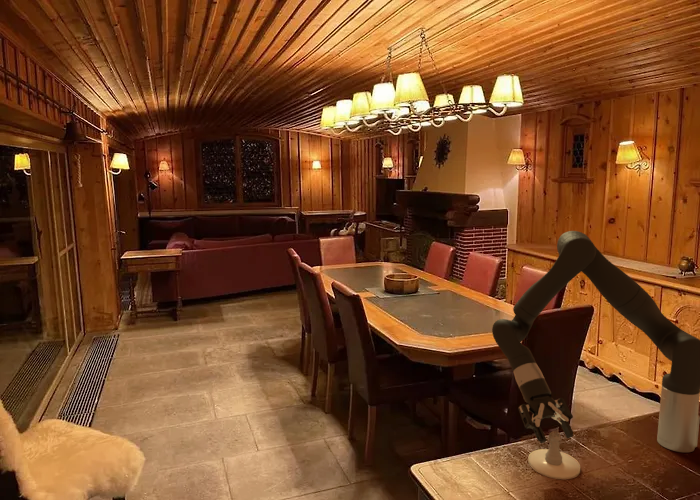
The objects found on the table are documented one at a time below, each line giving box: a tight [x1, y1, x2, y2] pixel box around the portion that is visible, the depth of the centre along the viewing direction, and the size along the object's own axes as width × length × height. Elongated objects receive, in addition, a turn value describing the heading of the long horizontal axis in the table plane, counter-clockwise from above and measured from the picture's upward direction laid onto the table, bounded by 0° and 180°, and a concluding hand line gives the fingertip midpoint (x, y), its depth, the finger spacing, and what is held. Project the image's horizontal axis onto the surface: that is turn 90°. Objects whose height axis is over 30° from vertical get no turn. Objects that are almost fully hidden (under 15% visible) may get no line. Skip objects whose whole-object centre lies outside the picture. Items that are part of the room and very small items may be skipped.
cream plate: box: [527, 448, 581, 480], centre depth 136 cm, size 13×13×1 cm
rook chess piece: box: [545, 431, 562, 465], centre depth 136 cm, size 4×4×8 cm
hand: (557, 439), depth 135 cm, fingers open, 8 cm apart
